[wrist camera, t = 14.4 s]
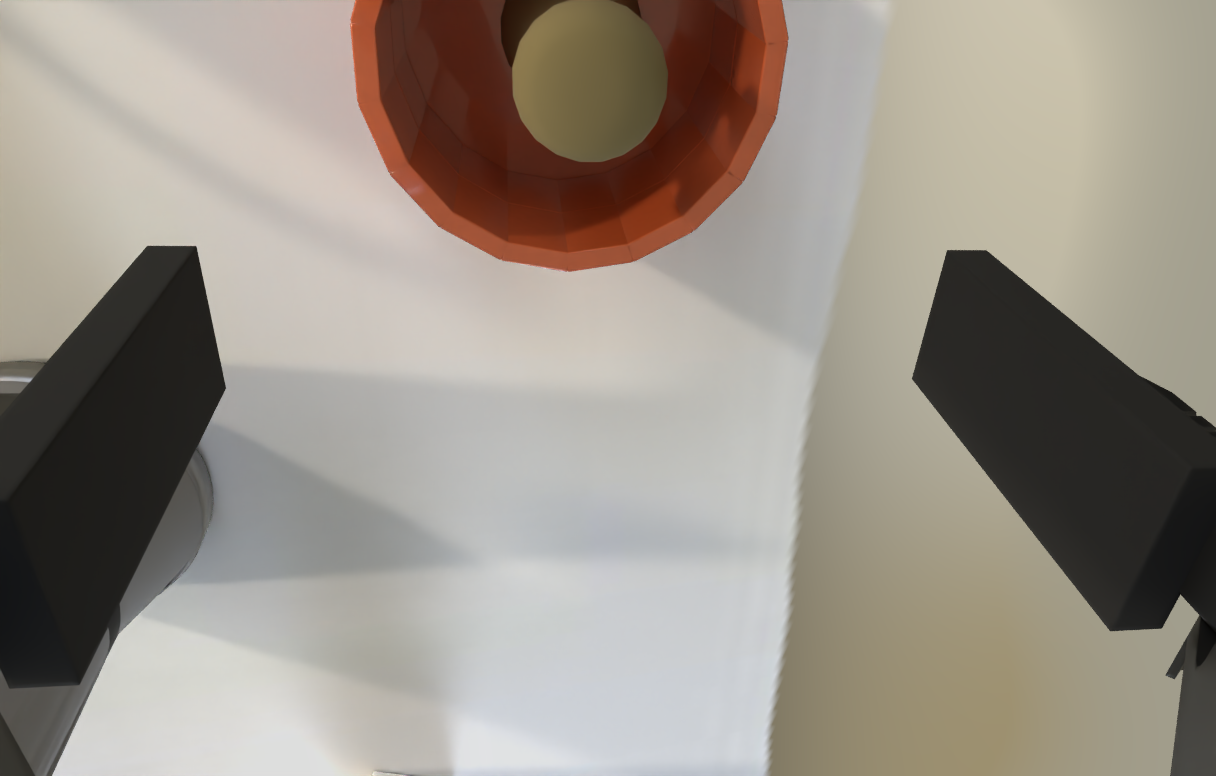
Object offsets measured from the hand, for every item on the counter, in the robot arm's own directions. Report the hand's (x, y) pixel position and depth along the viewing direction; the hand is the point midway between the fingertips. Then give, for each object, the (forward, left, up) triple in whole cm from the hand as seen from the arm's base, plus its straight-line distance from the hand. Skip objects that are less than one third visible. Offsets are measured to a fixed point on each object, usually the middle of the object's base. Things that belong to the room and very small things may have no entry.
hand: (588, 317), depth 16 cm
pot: (+1, +1, -26) cm, 26 cm away
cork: (+1, +1, -26) cm, 26 cm away
